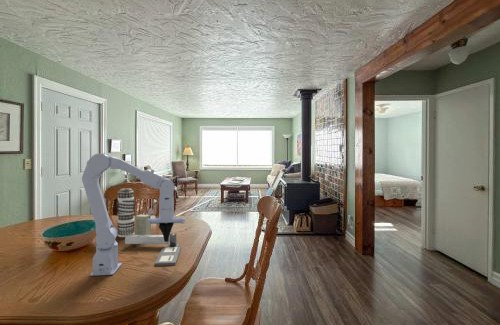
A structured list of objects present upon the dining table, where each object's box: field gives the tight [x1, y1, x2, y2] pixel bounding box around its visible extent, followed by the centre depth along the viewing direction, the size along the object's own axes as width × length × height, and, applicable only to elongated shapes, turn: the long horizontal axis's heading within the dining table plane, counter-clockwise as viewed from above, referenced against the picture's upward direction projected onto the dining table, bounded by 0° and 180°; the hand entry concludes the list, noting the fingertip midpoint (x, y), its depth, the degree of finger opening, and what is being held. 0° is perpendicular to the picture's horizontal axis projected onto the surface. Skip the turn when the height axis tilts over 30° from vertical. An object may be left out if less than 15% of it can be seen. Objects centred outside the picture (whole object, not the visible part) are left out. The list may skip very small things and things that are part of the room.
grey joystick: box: [166, 233, 180, 247], centre depth 125 cm, size 5×5×6 cm
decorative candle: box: [116, 187, 136, 238], centre depth 143 cm, size 9×9×25 cm
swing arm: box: [124, 234, 170, 245], centre depth 125 cm, size 20×3×3 cm, turn 90°
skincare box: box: [135, 214, 152, 235], centre depth 137 cm, size 6×4×12 cm
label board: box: [153, 246, 182, 267], centre depth 114 cm, size 18×8×1 cm, turn 8°
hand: (166, 241), depth 108 cm, fingers closed
